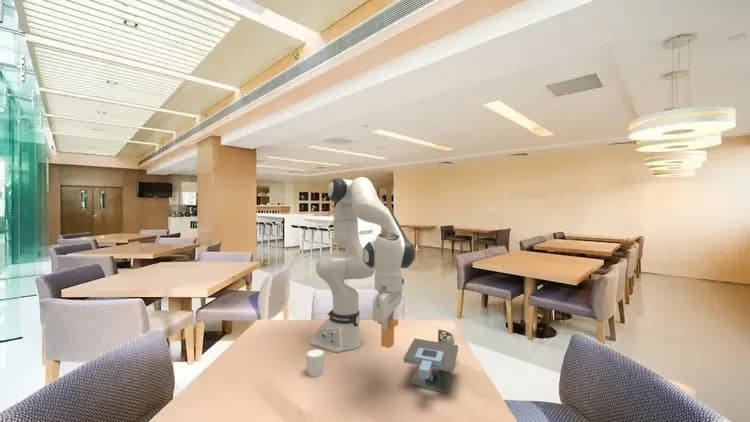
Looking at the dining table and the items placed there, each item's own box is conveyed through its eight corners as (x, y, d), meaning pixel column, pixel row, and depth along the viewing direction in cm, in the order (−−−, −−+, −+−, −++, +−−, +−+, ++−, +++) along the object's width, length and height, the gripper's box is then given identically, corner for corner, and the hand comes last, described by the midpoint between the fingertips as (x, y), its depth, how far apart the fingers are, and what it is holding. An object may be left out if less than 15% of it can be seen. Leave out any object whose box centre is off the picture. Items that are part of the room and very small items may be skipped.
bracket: (409, 375, 93) (409, 365, 93) (418, 356, 105) (418, 347, 105) (437, 381, 90) (437, 370, 90) (443, 360, 102) (443, 351, 102)
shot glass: (328, 369, 112) (328, 350, 112) (319, 379, 106) (319, 358, 106) (311, 365, 115) (312, 347, 115) (301, 375, 108) (301, 355, 108)
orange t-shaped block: (377, 344, 100) (377, 318, 100) (382, 341, 103) (382, 316, 103) (393, 349, 97) (393, 322, 97) (397, 345, 100) (398, 319, 99)
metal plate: (403, 387, 101) (403, 357, 101) (414, 364, 116) (414, 338, 116) (453, 398, 96) (453, 366, 96) (457, 372, 111) (458, 345, 111)
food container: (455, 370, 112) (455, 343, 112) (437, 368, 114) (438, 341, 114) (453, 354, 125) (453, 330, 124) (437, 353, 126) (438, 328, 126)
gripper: (387, 292, 89) (387, 340, 89) (405, 277, 108) (404, 316, 108) (367, 290, 91) (366, 337, 91) (388, 276, 110) (387, 314, 110)
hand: (387, 325), depth 100 cm, fingers closed on orange t-shaped block, 3 cm apart
